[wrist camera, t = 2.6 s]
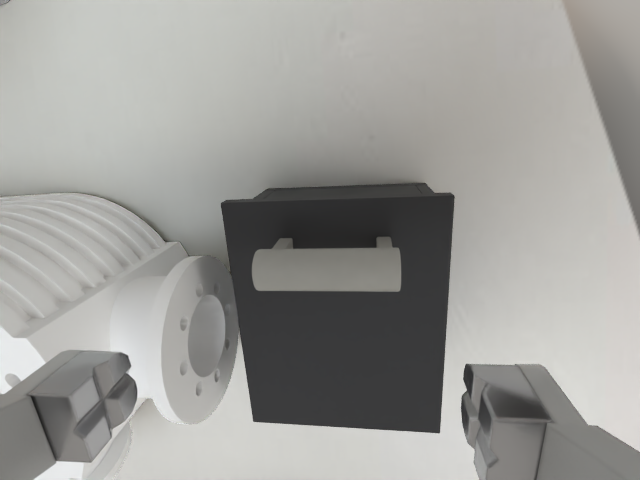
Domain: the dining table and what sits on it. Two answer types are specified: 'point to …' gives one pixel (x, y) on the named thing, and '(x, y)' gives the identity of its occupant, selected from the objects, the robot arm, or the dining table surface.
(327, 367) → the chamber lid
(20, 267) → the housing
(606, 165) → the dining table surface
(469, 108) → the dining table surface
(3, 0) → the chalice
